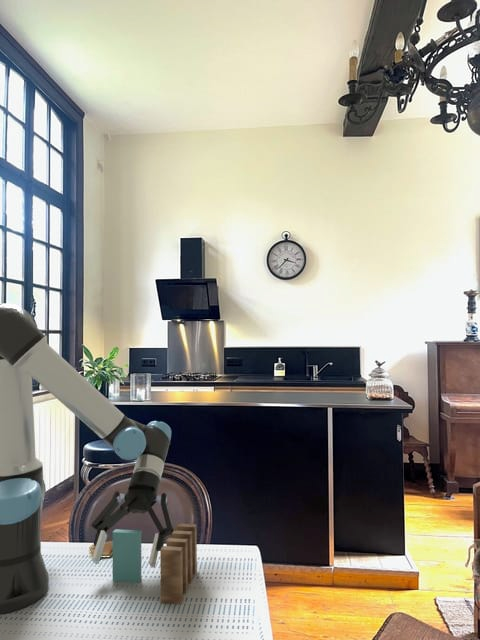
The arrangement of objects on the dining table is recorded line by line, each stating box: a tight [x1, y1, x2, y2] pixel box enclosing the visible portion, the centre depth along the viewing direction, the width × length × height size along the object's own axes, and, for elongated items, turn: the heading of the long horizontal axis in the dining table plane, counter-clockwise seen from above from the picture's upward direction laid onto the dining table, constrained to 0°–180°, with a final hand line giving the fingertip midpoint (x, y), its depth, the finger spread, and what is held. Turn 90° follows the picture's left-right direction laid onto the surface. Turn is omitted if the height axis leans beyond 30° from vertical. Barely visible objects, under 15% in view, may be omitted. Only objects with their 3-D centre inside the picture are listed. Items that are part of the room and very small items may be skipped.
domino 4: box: [165, 537, 189, 595], centre depth 98 cm, size 4×2×11 cm, turn 81°
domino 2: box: [176, 523, 198, 576], centre depth 106 cm, size 4×2×11 cm, turn 81°
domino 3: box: [171, 530, 193, 585], centre depth 102 cm, size 4×2×11 cm, turn 81°
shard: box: [88, 540, 113, 558], centre depth 118 cm, size 11×8×2 cm
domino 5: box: [159, 545, 184, 605], centre depth 94 cm, size 4×2×11 cm, turn 81°
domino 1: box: [112, 528, 142, 583], centre depth 103 cm, size 6×2×11 cm, turn 81°
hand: (123, 563), depth 101 cm, fingers open, 13 cm apart
